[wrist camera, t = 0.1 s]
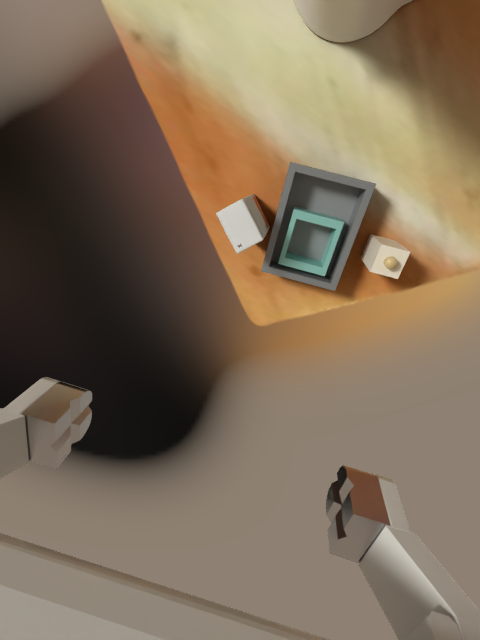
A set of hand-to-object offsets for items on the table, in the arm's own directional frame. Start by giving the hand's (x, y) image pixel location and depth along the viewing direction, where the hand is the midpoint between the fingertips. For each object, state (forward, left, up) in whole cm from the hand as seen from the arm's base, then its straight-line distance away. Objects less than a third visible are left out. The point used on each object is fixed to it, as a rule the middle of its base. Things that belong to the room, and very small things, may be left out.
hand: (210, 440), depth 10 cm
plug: (0, +16, -48) cm, 51 cm away
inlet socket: (+1, +5, -48) cm, 48 cm away
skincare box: (0, -5, -48) cm, 48 cm away
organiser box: (-1, +5, -48) cm, 48 cm away
